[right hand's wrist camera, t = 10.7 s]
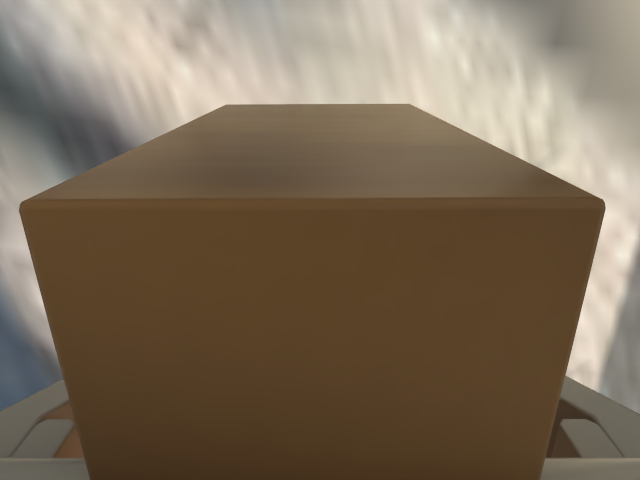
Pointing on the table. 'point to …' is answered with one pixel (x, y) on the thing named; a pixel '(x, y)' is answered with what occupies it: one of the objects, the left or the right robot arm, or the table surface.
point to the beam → (314, 299)
